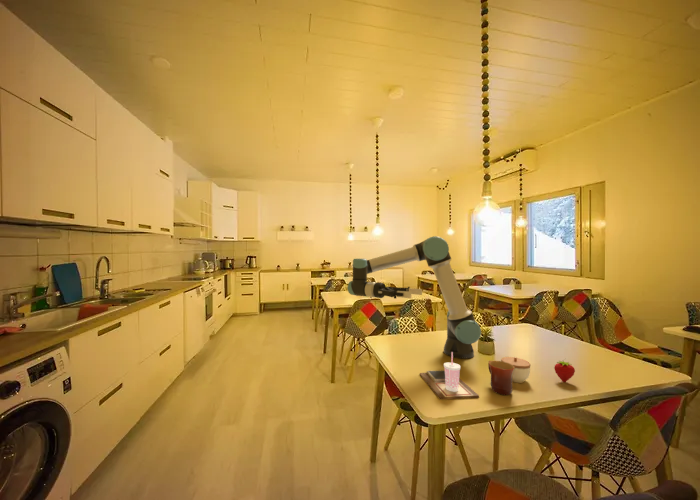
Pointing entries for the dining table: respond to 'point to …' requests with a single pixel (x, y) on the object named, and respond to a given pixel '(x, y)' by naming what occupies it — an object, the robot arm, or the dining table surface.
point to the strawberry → (564, 370)
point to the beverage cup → (452, 375)
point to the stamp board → (439, 387)
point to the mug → (501, 377)
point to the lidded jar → (518, 368)
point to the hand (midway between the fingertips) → (416, 293)
